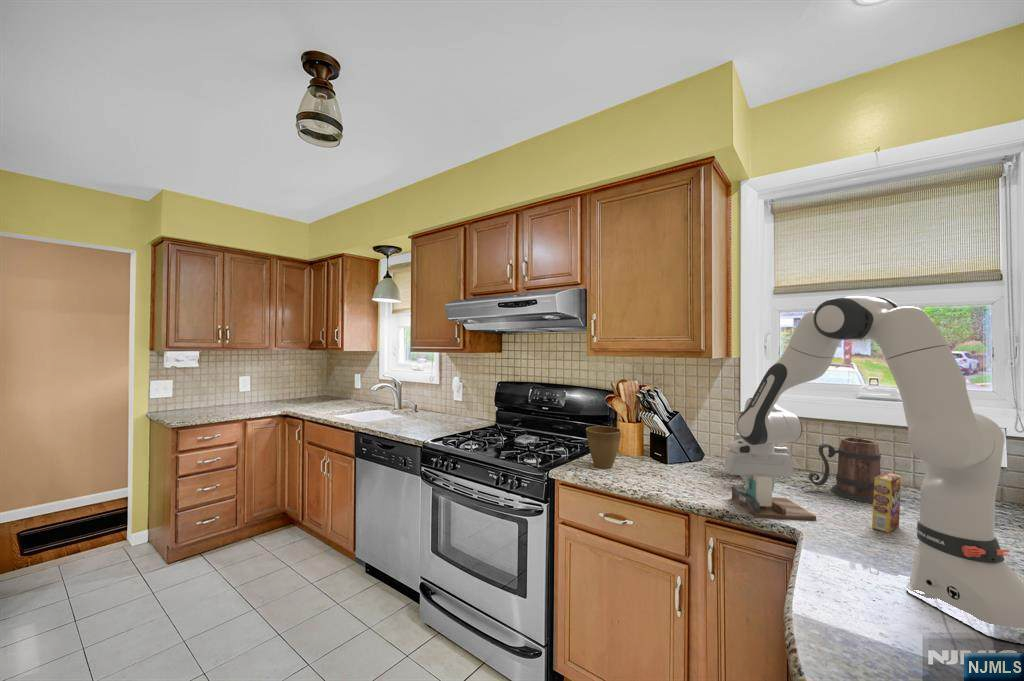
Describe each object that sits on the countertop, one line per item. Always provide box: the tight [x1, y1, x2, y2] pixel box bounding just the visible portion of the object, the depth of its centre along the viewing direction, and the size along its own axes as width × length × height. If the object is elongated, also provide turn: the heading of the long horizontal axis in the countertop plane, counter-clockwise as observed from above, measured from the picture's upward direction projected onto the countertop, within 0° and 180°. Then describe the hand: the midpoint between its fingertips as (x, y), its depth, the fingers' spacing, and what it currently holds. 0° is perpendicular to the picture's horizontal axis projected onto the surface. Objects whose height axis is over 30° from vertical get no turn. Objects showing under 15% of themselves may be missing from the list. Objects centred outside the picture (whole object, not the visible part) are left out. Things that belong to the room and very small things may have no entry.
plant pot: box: [585, 425, 622, 470], centre depth 184 cm, size 15×15×16 cm
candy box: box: [871, 472, 902, 534], centre depth 126 cm, size 9×4×15 cm, turn 123°
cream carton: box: [744, 475, 773, 507], centre depth 139 cm, size 5×8×9 cm, turn 176°
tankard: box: [808, 436, 882, 505], centre depth 155 cm, size 24×17×20 cm
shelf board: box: [731, 485, 817, 521], centre depth 139 cm, size 16×18×4 cm
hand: (757, 488), depth 139 cm, fingers closed on cream carton, 5 cm apart
